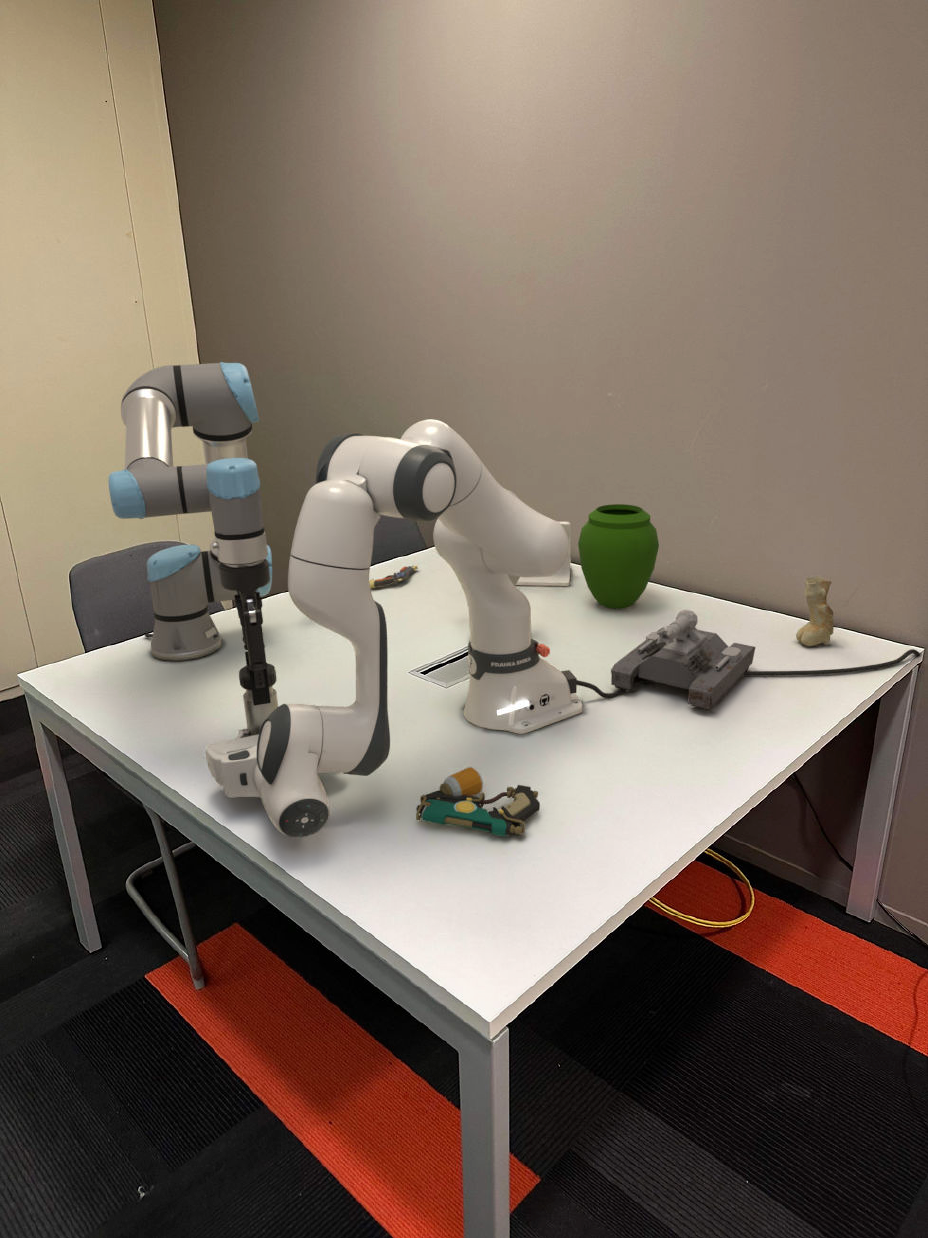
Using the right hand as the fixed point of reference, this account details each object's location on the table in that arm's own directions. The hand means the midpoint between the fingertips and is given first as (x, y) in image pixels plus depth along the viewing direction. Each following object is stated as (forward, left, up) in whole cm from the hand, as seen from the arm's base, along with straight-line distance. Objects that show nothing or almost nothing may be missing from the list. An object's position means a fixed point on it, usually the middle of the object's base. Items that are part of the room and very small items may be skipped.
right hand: (263, 728), depth 143 cm
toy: (-83, +5, -7) cm, 83 cm away
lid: (0, +1, +11) cm, 11 cm away
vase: (-95, -40, -7) cm, 103 cm away
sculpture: (-120, +2, -7) cm, 120 cm away
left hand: (0, +1, +7) cm, 7 cm away
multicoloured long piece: (-52, -86, -7) cm, 101 cm away
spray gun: (-26, +30, -7) cm, 41 cm away
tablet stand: (-86, -72, -7) cm, 113 cm away
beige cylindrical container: (0, +1, -7) cm, 7 cm away
